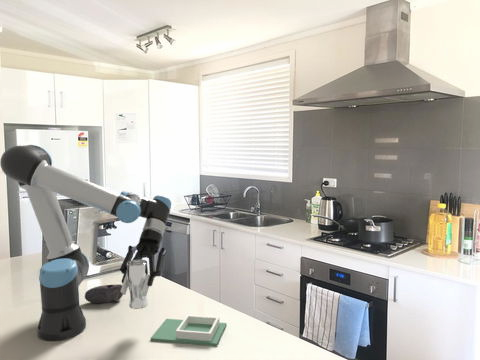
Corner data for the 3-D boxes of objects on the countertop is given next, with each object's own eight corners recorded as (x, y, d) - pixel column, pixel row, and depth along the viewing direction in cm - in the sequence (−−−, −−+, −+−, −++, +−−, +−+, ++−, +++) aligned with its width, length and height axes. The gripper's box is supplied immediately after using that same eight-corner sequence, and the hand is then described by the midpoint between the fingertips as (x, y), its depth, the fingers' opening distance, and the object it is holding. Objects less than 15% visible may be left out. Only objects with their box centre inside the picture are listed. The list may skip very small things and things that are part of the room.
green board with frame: (150, 340, 127) (150, 330, 127) (166, 320, 141) (166, 311, 141) (216, 346, 123) (216, 335, 123) (226, 325, 137) (226, 316, 137)
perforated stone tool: (82, 305, 155) (81, 288, 155) (87, 300, 161) (86, 283, 160) (121, 304, 156) (120, 287, 156) (124, 298, 161) (123, 282, 161)
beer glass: (141, 299, 139) (140, 257, 137) (153, 304, 134) (151, 262, 132) (123, 305, 133) (122, 262, 132) (135, 311, 129) (133, 267, 127)
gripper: (180, 240, 145) (164, 300, 131) (130, 237, 148) (110, 296, 134) (175, 229, 139) (158, 291, 125) (123, 227, 143) (101, 286, 128)
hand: (133, 293), depth 130 cm, fingers closed on beer glass, 7 cm apart
